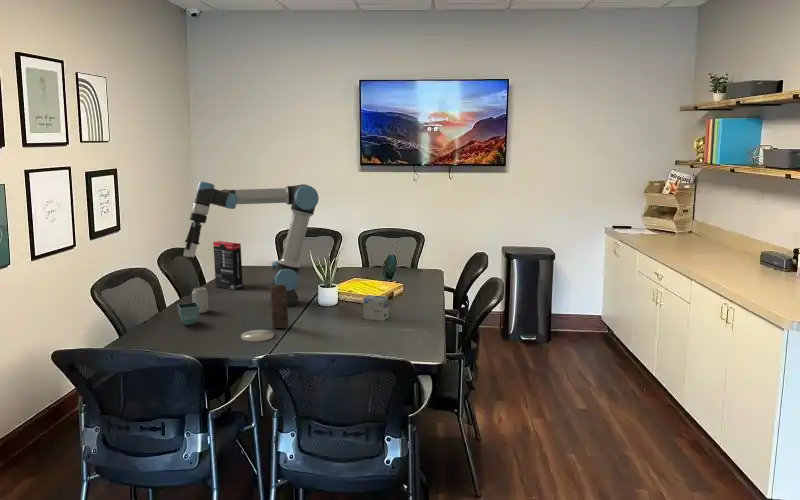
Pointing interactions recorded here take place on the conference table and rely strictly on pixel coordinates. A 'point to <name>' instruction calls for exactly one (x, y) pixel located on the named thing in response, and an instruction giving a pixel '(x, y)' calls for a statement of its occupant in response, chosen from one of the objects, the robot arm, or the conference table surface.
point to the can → (201, 299)
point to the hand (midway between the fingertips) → (188, 256)
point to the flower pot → (188, 312)
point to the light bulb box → (375, 307)
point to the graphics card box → (228, 265)
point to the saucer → (257, 335)
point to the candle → (279, 306)
